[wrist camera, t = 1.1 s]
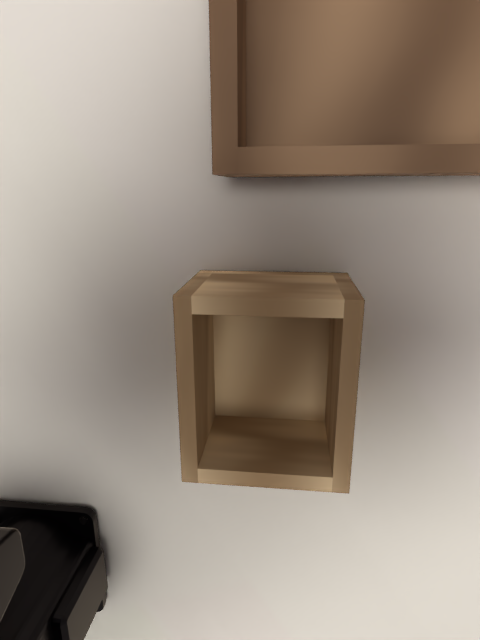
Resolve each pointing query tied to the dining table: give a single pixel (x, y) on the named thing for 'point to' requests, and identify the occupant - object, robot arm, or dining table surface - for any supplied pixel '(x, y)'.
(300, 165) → the big crate
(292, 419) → the small crate
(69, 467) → the dining table surface
